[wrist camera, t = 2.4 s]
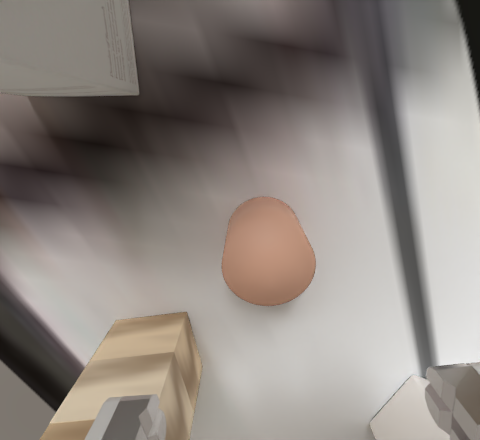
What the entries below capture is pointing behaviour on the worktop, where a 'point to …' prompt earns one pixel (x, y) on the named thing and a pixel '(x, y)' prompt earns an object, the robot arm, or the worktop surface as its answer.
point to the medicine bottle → (407, 415)
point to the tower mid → (131, 390)
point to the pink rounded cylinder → (267, 253)
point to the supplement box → (67, 48)
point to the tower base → (156, 344)
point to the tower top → (68, 430)
